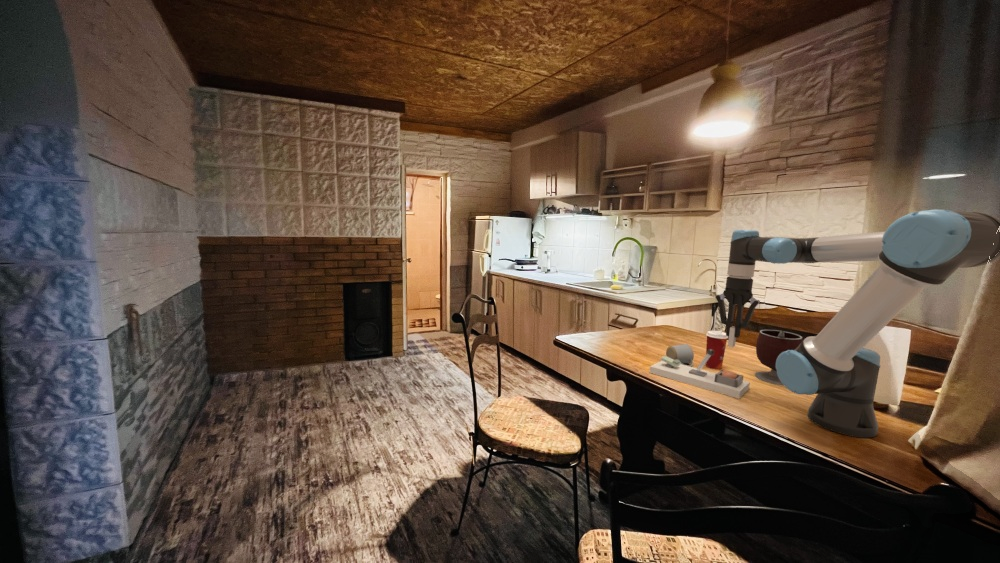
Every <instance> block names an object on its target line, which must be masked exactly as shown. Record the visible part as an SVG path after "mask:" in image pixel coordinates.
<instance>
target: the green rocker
mask: <svg viewBox="0 0 1000 563" xmlns="http://www.w3.org/2000/svg"><path fill="white" fill-rule="evenodd" d="M660 361H664V362H666V363H668V364H670V365H672V366H674V367H678V366H679V365H680V361H679V360H677V359H676V360H674V359H671V358H669V357H667V356H666V355H664V356H662V357H661V358H660Z"/></svg>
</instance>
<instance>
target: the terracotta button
mask: <svg viewBox="0 0 1000 563" xmlns="http://www.w3.org/2000/svg"><path fill="white" fill-rule="evenodd" d="M737 374H738V373H736V372H734V371H730V370H723V371H722V376H725V377H729V378H733V379H736V378H737Z"/></svg>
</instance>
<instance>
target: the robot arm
mask: <svg viewBox="0 0 1000 563" xmlns="http://www.w3.org/2000/svg"><path fill="white" fill-rule="evenodd" d="M999 226H1000V218H999V217H997V216H995V215H991V214H988V213H985V212H978V211H977V212H975V211H957V210H956V211H953V210H949V209H948V210H947V209H937V208H935V209H929V210H918V211H914V212H911V213H908V214H906V215H903V216H901V217H899V218H897V219H896V220H895V221H893V222H892V223H891V224H890V225H889V226H887V229H886V230H885V231H876V232H865V233H864V232H863V233H853V234H843V235H842V234H841V235H832V236H831V235H830V236H818V237H809V238H808V237H806V238H804V237H803V238H802V237H800V238H799V237H798V238H797V237H796V238H794V237H780V236H779V237H775V236H774V237H771V236H768V237H767V236H765V237H764V236H760V232H759V231H758V230H752V229H751V230H749V229H735V230H733V231H732V235H731V239H730V247H729V258H728V266H727V271H726V272H727V273H726V274H727V277H726V282H725V289H724V290H723V291H722V293H720V294H716V295H715V299H716V301H717V305H718V309H719V310H718V311H719V318H720V322H721V325H725V327H726V331H725V333H726V336H728V339H727V340H728V341H727V347H729V348H734V347H736V341H737V339H738V338H740V334H741V331H742V330H741V329H744V328H746V327H748V325H749V323H750V322H751V319H752V317H753V314H754V311H755V310H756V307H758V306H759V304H761V301H760V300H759V299H756V297H754V295H753V286H754V285H753V284H754V279H753V277H755V268H756V263H757V261H759V262H765V263H771V264H778V265H779V264H783V265H784V264H788V263H798V264H799V263H800V264H801V263H802V264H816V263H817V264H819V263H839V262H840V263H842V262H843V263H844V262H845V263H847V262H879V266H878V267H877V269H875V271H874V272H873V273H872V274H871V275H870V277H868V279H867V280H866V281H864V283H863V284H862V285H861V286H860V287H859V288H858V290H857V291H855V293H854V294H852V296H851V297H850V298H849V299H848V300H847V302H846V303H845V304H844V305H843V306H842V307H841V308H840V309H839V311H838V312H837V313H836V314H835V315H834V316H833V317H832V318H831V319H830V321H828V322H827V324H826V325H825V326H824V327H823V328H822V329H821V331H820V332H819V333H818V334H817V335H814V336H812V335H811V336H807V337H806V338H804V339H802V343H801V344H800V345H799V346H798V347H797V348H796V349H795V350H787V351H784V352H782V353H781V354H780V355H779V356H778V358H777V360H776V370H777V375H778V377H779V379H780V381H781V382H782V384H783V385H782V386H784V387H785V388H786V389H787V390H789V392H792V393H794V394H797V395H807V396H810V395H811V396H813V395H816V396H815V398H814V399H813V401H812V402H811V404H810V406H809V407H808V410H807V411H808V412H807V418H808V420H810V421H811V422H812V423H814V424H816V425H817V426H819V427H821V428H824V429H826V430H828V431H831V432H834V433H837V434H840V435H841V434H842V435H845V436H849V437H856V438H866V439H867V438H874V437H876V436H877V435H878V431H879V424H878V423H879V422H878V420H877V415H876V412H875V408H874V400H875V394H876V389H877V385H878V384H877V382H878V378H879V372H880V369H881V355H880V354H879V353H878V352H877V351H875V350H872V349H870V348H866V347H865V346H866V345H868V343H869V342H871V341H872V340H873V339H874V338H875V336H877V335H878V334H879V333H880V332H881V331H882V330H883V329H884V328H885V327H886V326H887V325H888V324H889V323H890V322H891V321H892V320H893V319H894V318H895V317H896V316H897V315H898V314H899V313H900V312H902V310H904V308H906V307H907V305H909V304H910V303H911V302H912V301H913V300H914V299H915V298H916V297H917V296H918V295H919V294H920V293H921V292H922V291H923V290H924V289H925V288H928V287H935V286H936V287H937V286H938V287H939V286H941V285H942V284H943V283H945V281H947V279H948V278H950V277H951V276H952V275H953V274H954V273H955V272H956V271H957V270H958V269H960V268H965V269H967V268H977V267H981V266H985V265H988V264H991V263H993V262H995V261H997V260H999V259H1000V258H999V257H1000V251H999V250H1000V232H999V230H998V228H999ZM997 230H998V232H997ZM996 232H997V234H996ZM993 243H994V245H993ZM998 252H999V253H998ZM997 253H998V254H997ZM996 254H997V255H996ZM995 255H996V256H995ZM989 256H990V259H991V260H990V259H989ZM998 258H999V259H998ZM996 259H997V260H996ZM988 260H989V262H990V263H989V262H988ZM987 262H988V264H987ZM725 299H726V300H727V303H728V309H727V310H728V311H727V310H726V304H725ZM749 301H750V302H749ZM748 302H749V303H750V306H749V307H748V309H747V311H746V314H745V316H744V319H743V315H744V308H745V305H746V304H747V303H748ZM736 307H737V308H736ZM735 310H736V317H735V324H734V316H735ZM727 312H728V313H727ZM733 325H734V326H733Z"/></svg>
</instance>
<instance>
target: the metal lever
mask: <svg viewBox="0 0 1000 563" xmlns="http://www.w3.org/2000/svg"><path fill="white" fill-rule="evenodd" d="M713 354H714V350H712V349H709V350H708V351H707V354H706V353H705V356H704V357H703V359H702V360H701V361H700V363H699V364H698V366H697V367H696V368H697V370H698V371H700V370H703V367H704V366H706V362H707V361H708V359H709V358H710V356H711V355H713Z"/></svg>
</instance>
